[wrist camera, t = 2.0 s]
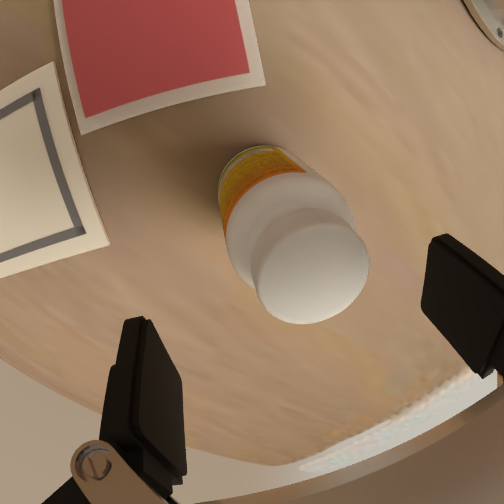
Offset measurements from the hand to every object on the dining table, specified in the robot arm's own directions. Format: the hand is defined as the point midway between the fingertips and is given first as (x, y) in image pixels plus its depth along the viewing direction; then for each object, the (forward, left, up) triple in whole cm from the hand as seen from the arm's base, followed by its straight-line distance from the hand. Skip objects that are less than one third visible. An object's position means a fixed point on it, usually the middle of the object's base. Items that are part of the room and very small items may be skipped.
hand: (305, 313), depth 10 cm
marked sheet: (+15, -5, -11) cm, 19 cm away
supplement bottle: (-1, 0, -11) cm, 11 cm away
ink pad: (+3, -11, -11) cm, 16 cm away
